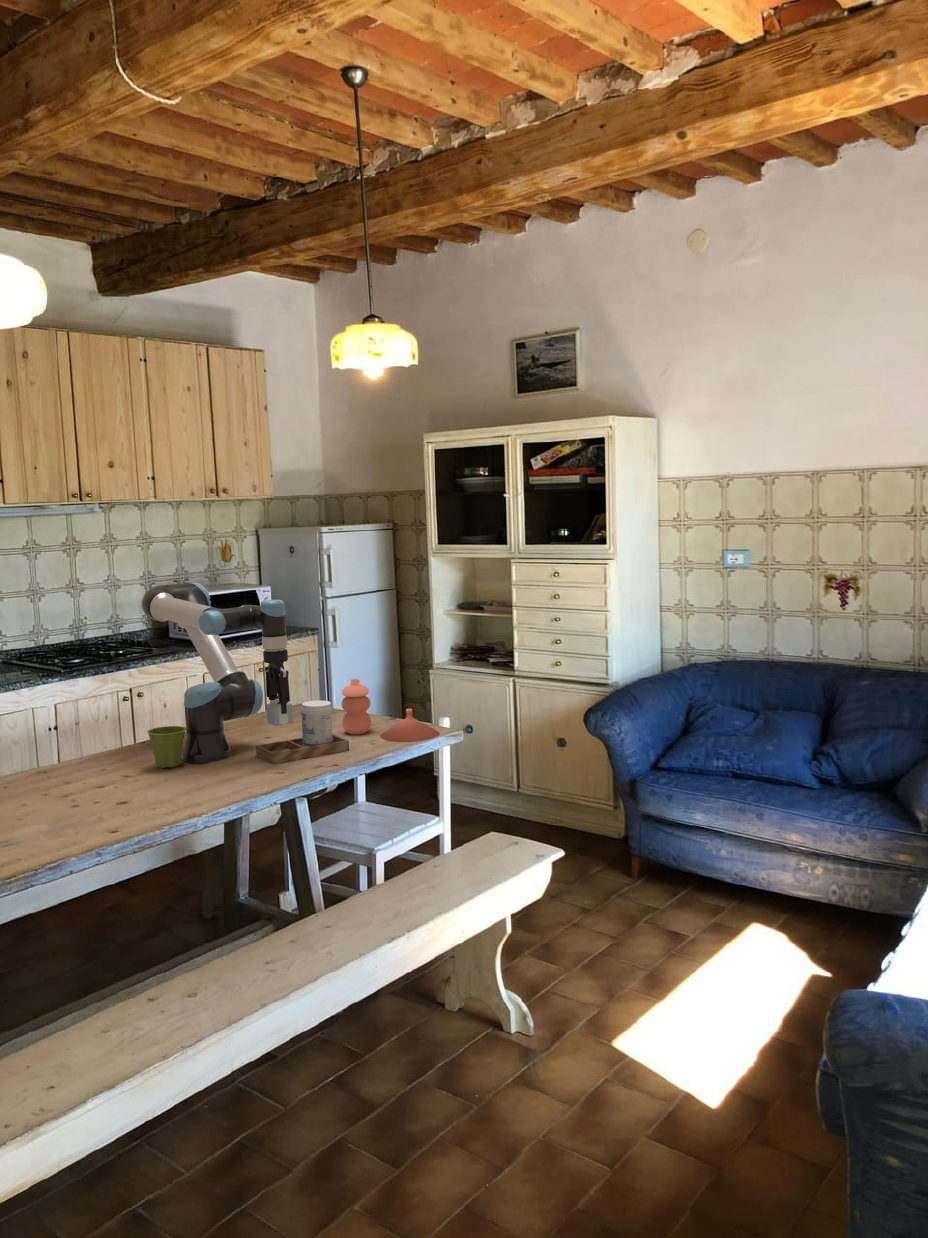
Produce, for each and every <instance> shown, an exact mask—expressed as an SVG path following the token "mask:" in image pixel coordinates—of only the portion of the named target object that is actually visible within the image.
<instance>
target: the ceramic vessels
mask: <svg viewBox="0 0 928 1238" xmlns="http://www.w3.org/2000/svg"><path fill="white" fill-rule="evenodd" d="M349 681H350V684H348V685H346V686H345V687H343V688H342V690H341V694H342V696H344V698H343V699H342V700H341V708H342V709H343V710H344V712H346V713H345V714H344V716H343V718H342V723H341V724H342V727H343V729H344V731H345V732H347V733H348V734H350V735H354V736H355V735H357V736H358V735H362V734H366V733H367V732H368V731H369V730H370V728H371V727H372V719H371V715H370V714H369V713H368V712H367V710H368V709H370V707H371V700H370V698H369V697H368V694H369V693H370V689H369V688H368V687H367V686H366V685H363V684H361V683H360V679H359V678H354V679H350V680H349ZM405 714H406V717H405V718H404V719H402V720H401V721H399V722H397V724H395V725H393V726H391V727H390V728H389V729H388V730H386V731H384V732H383V733H381V734H380V736H379V738H380V739H382V740H384V741H387V742H392V743H393V742H394V743H415V742H423V741H428V740H431V739H435V738H437V737H438V736H440V731H438V729H437V730H436V729H435V728H433V727H432V726H430V725H427V724H425V723H423V722H422V721H420V720H418V719H416V718H415V717H413V709H412V708H406V710H405Z"/></svg>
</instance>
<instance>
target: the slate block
mask: <svg viewBox="0 0 928 1238" xmlns="http://www.w3.org/2000/svg"><path fill="white" fill-rule="evenodd" d="M266 712H267V713H266V714H267V715H266V716H267V723H268V724H270V725H272V726H275V727H277V726H278V727H279V726H283V725H285V724H279V713H278V704H277V703H271V704H270V703H267V704H266ZM287 712H288V723H287V724H286V725H288V724H294V712H293V703H291V702H290V703H289V702H288V703H287Z"/></svg>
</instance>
